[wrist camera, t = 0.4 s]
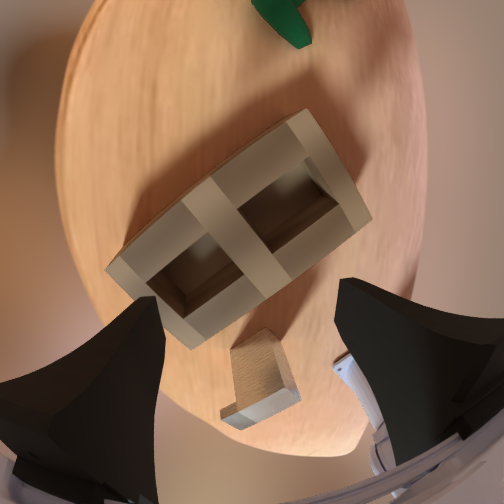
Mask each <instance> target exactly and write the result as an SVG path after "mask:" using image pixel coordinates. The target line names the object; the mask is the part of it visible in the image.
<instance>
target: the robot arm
mask: <svg viewBox="0 0 504 504" xmlns="http://www.w3.org/2000/svg"><path fill="white" fill-rule="evenodd" d="M334 322H335V324H336V327H337V329H338V332H339V334H340V336H341V338H342V340H343V342H344V344H345V345H346V347H347V349H348V350H349V352H350V353H349V354H348V355H346V356H345V357H343V358H342V359H340V360H339V361H337V362H336V363H335V364H333V366H332V368H333V370H334V371H335V372H336V373H337V374H338V375H339V376H340V377H341V379H342V380H343V381H344V382H345V383H346V384H347V385H348V386H349V387H350V388H351V389H352V390H353V392H354V393H355V394H356V396H357V398H358V400H359V402H360V403H361V405H362V407H363V409H364V411H365V413H366V414H367V416H368V418H369V420H370V422H371V424H372V426H373V427H374V429H375V431H376V432H375V433H374V434H373V435H372V437H373V439H374V441H375V443H373V444H372V445H371V446H370V452H369V461H370V464H371V467H372V469H373V471H374V473H375V475H376V476H374V477H372V478H369V479H366V480H364V481H361V482H358V483H356V484H353V485H350V486H347V487H344V488H341V489H338V490H334V491H331V492H327V493H324V494H320V495H316V496H312V497H308V498H304V499H299V500H295V501H290V502H285V503H279V504H366V503H368V502H371V501H373V500H376V499H378V498H380V497H383V496H385V495H387V494H389V493H392V495H393V496H394V497H395V499H393V500H391V501H390V502H388V503H387V504H504V487H503V485H502V482H503V481H504V318H503V319H500V318H498V319H497V318H490V319H489V318H478V317H469V316H463V315H458V314H452V313H448V312H444V311H440V310H436V309H433V308H430V307H426V306H423V305H420V304H418V303H415V302H412V301H410V300H407V299H405V298H402V297H400V296H397V295H395V294H393V293H390V292H388V291H386V290H384V289H381V288H379V287H377V286H375V285H372V284H370V283H368V282H365V281H363V280H360V279H357V278H354V277H352V278H344V279H340V282H339V289H338V297H337V304H336V311H335V317H334ZM165 343H166V337H165V333H164V329H163V326H162V322H161V317H160V313H159V309H158V305H157V300H156V296H143V297H139V298H138V299H137V300H135V301H134V302H133V303H132V304H131V305H130V306H129V307H127V308H126V309H125V310H124V311H123V312H122V313H121V314H120V315H119V316H117V317H116V318H115V319H114V320H113V321H112V322H111V323H110V324H108V325H107V326H106V327H105V328H103V329H102V330H101V331H100V332H99V333H97V334H96V335H95V336H94V337H93V338H91V339H90V340H89V341H87V342H86V343H84V344H83V345H81V346H80V347H79V348H77V349H75V350H74V351H72V352H71V353H69V354H68V355H66V356H64V357H62V358H60V359H59V360H57V361H55V362H53V363H52V364H49V365H47V366H46V367H43V368H41V369H39V370H37V371H35V372H32V373H29V374H27V375H24V376H21V377H18V378H15V379H12V380H9V381H5V382H2V383H0V440H1V441H2V442H3V443H4V444H5V445H6V446H7V447H8V448H9V449H10V450H11V451H13V452H14V453H15V454H16V455H17V459H16V462H14V461H13V460H11V459H10V458H8V457H6V456H5V455H3V454H1V453H0V504H159V502H158V496H157V488H156V480H155V465H154V414H155V407H156V401H157V395H158V390H159V385H160V380H161V374H162V369H163V364H164V358H165Z"/></svg>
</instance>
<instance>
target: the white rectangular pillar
mask: <svg viewBox="0 0 504 504" xmlns="http://www.w3.org/2000/svg"><path fill="white" fill-rule="evenodd" d="M230 356H231V365H232V373H233V380H234V388H235V396H236V402H235V403H233V404H231V405H229V406H227V407H225V408H223V409H221V410H220V416H221V420H222V421H224V422H226V423H227V424H229V425H231V426H233V427H235V428H237V429H239V430H243V429H245V428H248V427H250V426H252V425H254V424H256V423H258V422H261V421H263V420H265V419H267V418H269V417H271V416H273V415H275V414H277V413H279V412H281V411H283V410H285V409H287V408H288V407H290V406H292V405H294V404H296V403H298V402H299V401H301V397H300V394H299V391H298V388H297V386H296V383H295V380H294V377H293V375H292V372H291V369H290V366H289V363H288V361H287V358H286V355H285V352H284V349H283V347H282V344H281V341H280V340H279V339H278V338H277V337H276V336H275V335H274V334H273V333H272V332H271V331H270V330H269V329H268V328H267V327H265V328H263V329H262V330H260V331H259V332H257V333H256V334H254V335H253V336H251V337H250V338H248V339H246V340H245V341H243V342H242V343H240V344H239V345H237V346H236V347H234V348H232V349H231V350H230Z"/></svg>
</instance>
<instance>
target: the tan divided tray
mask: <svg viewBox="0 0 504 504" xmlns="http://www.w3.org/2000/svg"><path fill="white" fill-rule="evenodd" d="M371 220H373V218H372V216H371V214H370V212H369V210H368V208H367V206H366V205H365V203H364V201H363V199H362V197H361V195H360V193H359V191H358V189H357V188H356V186H355V184H354V182H353V180H352V178H351V177H350V175H349V173H348V171H347V170H346V168H345V166H344V165H343V163H342V161H341V159H340V158H339V156H338V154H337V153H336V151H335V150H334V148H333V146H332V145H331V143H330V142H329V140H328V138H327V137H326V135H325V134H324V132H323V131H322V129H321V128H320V126H319V125H318V123H317V122H316V120H315V119H314V117H313V116H312V114H311V113H310V111H309V110H308V109H307V108H305V109H303V110H300V111H298V112H295V113H293V114H290V115H288V116H286V117H285V118H283V119H281V120H280V121H278V122H277V123H275V124H274V125H273V126H271V127H270V128H268V129H267V130H265V131H264V132H262V133H261V134H259V135H258V136H257V137H255V138H254V139H252V140H251V141H249V142H248V143H247V144H245V145H244V146H243V147H241V148H240V149H238V150H237V151H236V152H234V153H233V154H232V155H230V156H229V157H228V158H226V159H225V160H224V161H222V162H221V163H220V164H218V165H217V166H216V167H215V168H213V169H212V170H211V171H209V172H208V173H207V174H206V175H204V176H203V177H202V178H201V179H199V180H198V181H197V182H196V183H194V184H193V185H192V186H191V187H189V188H188V189H187V190H186V191H185V192H183V193H182V194H181V195H180V196H179V197H177V198H176V199H175V200H174V201H173V202H172V203H170V204H169V205H168V206H167V207H166V208H165V209H164V210H162V211H161V212H160V213H159V214H158V215H157V216H156V217H154V218H153V219H152V220H151V221H150V222H149V223H148V224H147V225H146V226H145V227H143V228H142V229H141V230H140V231H139V232H138V233H137V234H136V235H135V236H134V237H133V238H132V239H131V240H129V241H128V242H127V243H126V244H125V245H124V246H123V247H122V248H121V250H120V251H119V252H118V253H117V255H116V256H115V257H114V259H113V260H112V261H111V262H110V264H109V265H108V266H107V268H106V269H105V271H106V272H107V273H108V274H109V275H110V276H111V277H112V279H113V280H114V281H115V282H116V283H117V284H118V285H119V286H120V287H121V288H122V289H123V290H124V291H125V292H126V293H127V294H128V295H129V296H130V297H131V298H132V299H134V300H137V299H138V298H139V297H143V296H156V300H157V305H158V309H159V313H160V317H161V322H162V326H163V327H164V328H165V329H166V330H167V331H169V332H170V333H171V334H172V335H173V336H174V337H176V338H177V339H178V340H179V341H180V342H181V343H183V344H184V345H185V346H186V347H188V348H189V349H190V350H192V349H194V348H195V347H197V346H198V345H200V344H201V343H203V342H204V341H206V340H208V339H209V338H211V337H212V336H214V335H215V334H217V333H218V332H220V331H221V330H223V329H224V328H226V327H227V326H229V325H230V324H232V323H233V322H235V321H236V320H237V319H239V318H240V317H242V316H243V315H245V314H246V313H248V312H249V311H251V310H252V309H253V308H255V307H256V306H258V305H259V304H261V303H262V302H264V301H265V300H266V299H268V298H269V297H271V296H272V295H273V294H275V293H276V292H278V291H279V290H280V289H282V288H283V287H285V286H286V285H287V284H289V283H290V282H292V281H293V280H294V279H296V278H297V277H298V276H300V275H301V274H302V273H304V272H305V271H306V270H308V269H309V268H311V267H312V266H313V265H315V264H316V263H317V262H319V261H320V260H321V259H323V258H324V257H325V256H326V255H328V254H329V253H330V252H332V251H333V250H334V249H336V248H337V247H338V246H340V245H341V244H342V243H343V242H345V241H346V240H347V239H349V238H350V237H351V236H352V235H354V234H355V233H356V232H357V231H359V230H360V229H361V228H363V227H364V226H365V225H366V224H368V223H369V222H370V221H371Z"/></svg>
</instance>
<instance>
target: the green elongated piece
mask: <svg viewBox="0 0 504 504" xmlns="http://www.w3.org/2000/svg"><path fill="white" fill-rule="evenodd" d="M304 1H305V0H251V2H252V4H253V5H254V6H255V8H256V10H257V11H258V12H259V13H260V15H261V16H262V17H263V18H264V19H265V20H266V21H267V22H268V23H269V24H270V25H271V26H272V27H273V28H274V29H275V30H276V31H277V32H278V33H279V34H280V35H281V36H282V37H283V38H285V39H286V40H287V41H288V42H289V43H291V44H292V45H293V46H294V47H296V48H297V49H301V48H303V47H305V46H307V45H310V44H312V39H311V36H310V32H309V29H308V27H307V25H306V23H305V21H304V19H303V18H302V16H301V14H300V13H299V11H298V10H297V8H298V7H299V6H300V5H301V4H302V3H303V2H304Z"/></svg>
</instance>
